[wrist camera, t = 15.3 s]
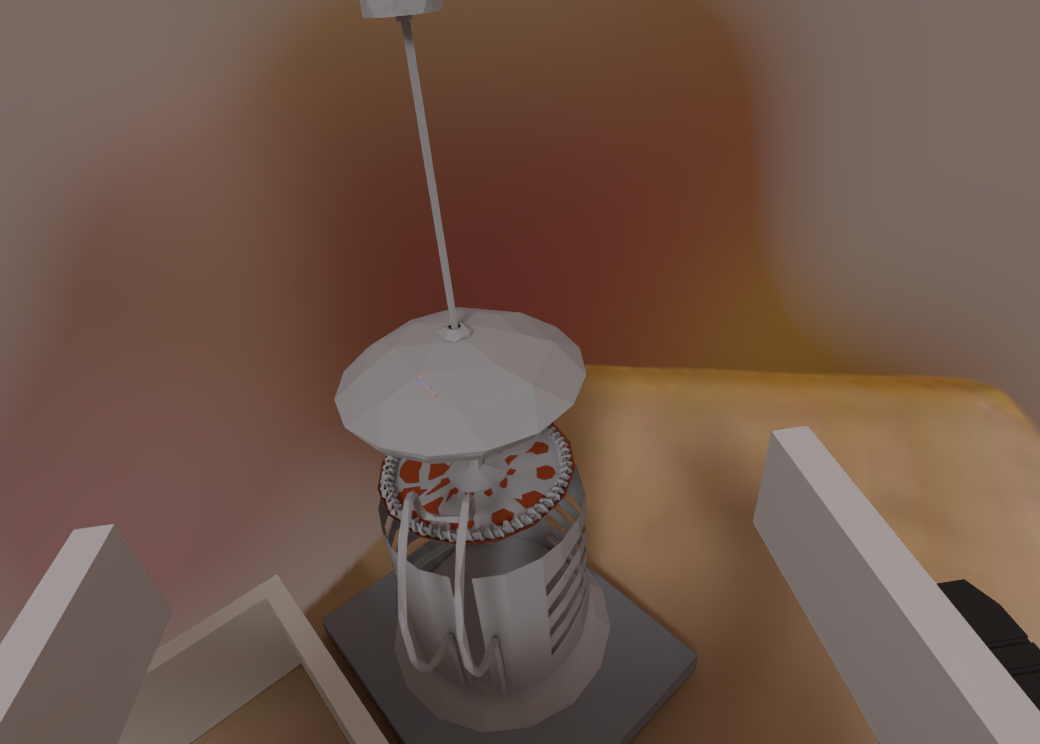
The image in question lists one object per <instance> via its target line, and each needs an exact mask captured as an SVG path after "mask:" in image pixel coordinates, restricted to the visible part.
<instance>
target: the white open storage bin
mask: <svg viewBox="0 0 1040 744" xmlns="http://www.w3.org/2000/svg"><path fill="white" fill-rule="evenodd" d="M300 664H302V666H303V668H304V669H305V671H306V673H307V674H308V676H309V678H310V679H311V681H312V682H313V684H314V686H315V687H316V689H317V691H318V692H319V694H320V696H321V697H322V699H323V701H324V702H325V704H326V706H327V707H328V709H329V711H330V712H331V714H332V716H333V717H334V719H335V721H336V722H337V724H338V725H339V727H340V729H341V730H342V732H343V734H344V735H345V737H346V739H347V740H348V742H349V744H389V743H388V741H387V740H386V738H385V737H384V735H383V734H382V732H381V731H380V729H379V728H378V726H377V725H376V723H375V722H374V720H373V719H372V717H371V716H370V714H369V712H368V711H367V709H366V708H365V706H364V705H363V703H362V702H361V700H360V699H359V697H358V696H357V694H356V693H355V691H354V690H353V688H352V687H351V685H350V684H349V682H348V681H347V679H346V678H345V676H344V675H343V673H342V672H341V670H340V669H339V667H338V665H337V664H336V662H335V661H334V659H333V658H332V656H331V655H330V653H329V652H328V650H327V649H326V647H325V646H324V644H323V643H322V641H321V640H320V638H319V637H318V635H317V634H316V632H315V631H314V629H313V628H312V626H311V625H310V623H309V621H308V620H307V618H306V617H305V615H304V614H303V612H302V611H301V609H300V608H299V606H298V605H297V604H296V602H295V600H294V599H293V597H292V596H291V594H290V593H289V591H288V590H287V588H286V587H285V585H284V584H283V582H282V581H281V579H280V577H279V576H278V574H276V575H275V576H273V577H271V578H270V579H268V580H266V581H265V582H263V583H262V584H260V585H259V586H257V587H255V588H254V589H252V590H250V591H249V592H247V593H246V594H244V595H242V596H241V597H239V598H238V599H236V600H234V601H233V602H231V603H230V604H228V605H226V606H225V607H223V608H222V609H220V610H218V611H217V612H215V613H214V614H212V615H210V616H209V617H207V618H206V619H204V620H202V621H201V622H199V623H198V624H196V625H194V626H193V627H191V628H190V629H188V630H186V631H185V632H183V633H182V634H180V635H178V636H177V637H175V638H174V639H172V640H170V641H169V642H167V643H166V644H164V645H162V646H161V647H159V648H158V649H156V651H155V653H154V656H153V658H152V661H151V663H150V666H149V668H148V671H147V673H146V676H145V678H144V680H143V683H142V685H141V688H140V690H139V693H138V695H137V698H136V700H135V703H134V705H133V707H132V710H131V712H130V715H129V717H128V720H127V722H126V725H125V727H124V729H123V732H122V734H121V737H120V739H119V742H118V744H190V743H191V742H193V741H194V740H195V739H197V738H198V737H200V736H201V735H202V734H204V733H205V732H207V731H208V730H209V729H211V728H212V727H214V726H215V725H216V724H218V723H219V722H220V721H222V720H223V719H225V718H226V717H227V716H229V715H230V714H232V713H233V712H234V711H236V710H237V709H239V708H240V707H241V706H243V705H244V704H245V703H247V702H248V701H250V700H251V699H252V698H254V697H255V696H257V695H258V694H259V693H261V692H262V691H264V690H265V689H266V688H268V687H269V686H270V685H272V684H273V683H275V682H276V681H277V680H279V679H280V678H282V677H283V676H284V675H286V674H287V673H289V672H290V671H291V670H293V669H294V668H295V667H297V666H298V665H300Z"/></svg>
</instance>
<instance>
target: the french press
mask: <svg viewBox="0 0 1040 744" xmlns="http://www.w3.org/2000/svg"><path fill="white" fill-rule="evenodd" d="M360 3H361V10H362V16H363V18H380V17H393V16H396V20H397V22H401V24H402V30H403V36H404V42H405V49H406V54H407V61H408V67H409V73H410V79H411V85H412V91H413V97H414V103H415V109H416V115H417V121H418V128H419V133H420V140H421V146H422V152H423V158H424V163H425V170H426V176H427V182H428V188H429V194H430V200H431V206H432V213H433V218H434V225H435V231H436V237H437V243H438V249H439V255H440V261H441V267H442V273H443V279H444V285H445V291H446V298H447V303H448V310H447V311H443V312H439V313H435V314H432V315H428V316H424V317H420V318H417V319H413V320H410V321H409V322H407V323H406V324H404V325H402V326H401V327H399V328H398V329H396V330H395V331H393V332H391V333H390V334H388V335H386V336H385V337H383V338H382V339H380V340H379V341H377V342H375V343H374V344H372V345H371V346H369V347H368V348H367V349H366V350H365V351H364V352H363V353H362V354H361V355H360V356H359V357H358V358H357V359H356V360H355V361H354V362H353V363H352V364H351V365H350V366H349V367H348V368H347V369H346V370H345V371H344V373H343V376H342V379H341V382H340V385H339V388H338V391H337V393H336V397H335V399H334V400H335V403H336V405H337V408H338V410H339V413H340V416H341V419H342V422H343V424H344V427H345V428H346V429H348V430H349V431H351V432H352V433H354V434H355V435H356V436H358V437H360V438H361V439H362V440H364V441H365V442H367V443H368V444H369V445H371V446H372V447H374V448H375V449H377V450H378V451H380V452H381V453H383V454H384V455H387V456H386V458H385V459H384V460H383V462H382V467H381V473H380V478H379V484H378V491H379V493H380V496H381V499H380V504H379V514H380V520H381V525H382V530H383V535H384V538H385V542H386V545H387V549H388V552H389V555H390V557H391V560H392V565H393V568H394V571H395V574H396V576H397V579H398V620H397V629H396V638H395V646H394V651H395V654H396V657H397V660H398V663H399V665H400V668H401V671H402V674H403V677H404V680H405V683H406V686H407V688H408V689H409V690H410V691H411V692H412V693H413V694H414V695H415V696H416V697H417V698H418V699H419V700H420V701H421V702H422V703H423V704H424V705H425V706H426V707H427V708H428V709H429V710H430V711H431V712H432V713H433V714H434V715H435V716H436V717H437V718H439V719H442V720H446V721H449V722H452V723H455V724H458V725H461V726H464V727H467V728H470V729H473V730H476V731H479V732H482V733H483V732H492V731H501V730H510V729H520V728H529V727H532V726H534V725H536V724H538V723H539V722H541V721H543V720H545V719H546V718H548V717H550V716H552V715H554V714H555V713H557V712H559V711H561V710H562V709H564V708H566V707H568V706H569V705H571V704H573V703H574V702H575V701H576V699H577V698H578V697H579V695H580V694H581V693H582V691H583V690H584V689H585V687H586V686H587V685H588V683H589V682H590V681H591V679H592V678H593V677H594V675H595V674H596V673H597V671H598V670H599V669H600V668H601V665H602V660H603V656H604V652H605V647H606V643H607V639H608V634H609V630H610V623H609V618H608V613H607V608H606V604H605V599H604V594H603V589H602V588H601V587H600V585H599V584H598V582H597V581H596V580H595V578H594V577H593V576H592V574H591V573H590V571H589V570H588V569H587V567H586V562H587V552H586V548H585V543H586V540H587V534H586V528H585V525H584V521H585V518H586V502H585V493H584V489H583V486H582V482H581V479H580V475H579V472H578V468H577V466H576V465H575V464H574V459H573V455H572V450H571V445H570V441H569V440H568V439H567V438H566V437H565V436H564V435H563V434H562V433H561V431H560V430H559V429H558V428H557V427H556V426H555V425H554V424H553V421H555V420H556V419H557V418H558V417H559V416H561V415H562V414H563V413H564V412H565V411H567V410H568V409H569V408H570V407H571V406H573V405H574V403H575V401H576V398H577V396H578V394H579V391H580V389H581V386H582V384H583V382H584V379H585V377H586V375H587V374H586V370H585V367H584V363H583V359H582V356H581V352H580V348H579V347H578V346H577V345H575V344H574V343H573V342H572V341H571V340H570V339H569V338H568V337H567V336H566V335H565V334H563V333H562V332H561V331H560V330H559V329H558V328H557V327H555V326H553V325H550V324H548V323H545V322H542V321H540V320H538V319H535V318H532V317H530V316H527V315H525V314H522V313H518V312H507V311H494V310H484V309H472V308H461V307H458V308H455V304H454V297H453V292H452V285H451V278H450V272H449V266H448V260H447V253H446V247H445V240H444V234H443V228H442V221H441V215H440V209H439V202H438V196H437V190H436V183H435V177H434V171H433V164H432V158H431V151H430V145H429V139H428V132H427V126H426V120H425V113H424V107H423V101H422V94H421V88H420V82H419V75H418V69H417V63H416V56H415V50H414V44H413V37H412V31H411V25H410V20H411V19H412V15H413V14H420V13H427V12H434V11H438V10H442V0H360ZM566 492H568V493H569V494H570V495H571V496H572V497H573V498H574V499H575V500H576V501H577V503H578V504H579V506H580V508H581V510H580V514H579V513H578V512H577V511H576V509H575V508H574V507H572V506H571V505H570V504H569V503H568V502H567V501H566V500H565V499H564V497H565V495H566ZM557 504H559V505H560V506H561V507H563V508H564V509H565V510H566V512H567V513H568V514H569V515H570V516H571V517H572V518H573V519H574V520H575V521H576V522H575V523H574V525H573V526H572V525H571V524H570V523H569V522H568V521H567V520H566V519H565V518H564V517H563V516H562V515H561V514H559V513H558V512H557V511H555V510H554V509H553V508H554V507H555V506H556V505H557ZM388 515H389V516H391V517H392V518H394V519H392V522H391V526H390V529H389V533H388V536H386V531H385V527H384V526H385V523H386V519H387V516H388ZM546 515H549V516H550V517H551V518H553V519H554V520H555V521H557V522H558V523H559V524H561V525H562V526H563V527H564V528H565V529H566V530H567V531H568V533H567V534H566V536H565V535H564V534H563V533H561V532H560V531H559V530H557V529H556V528H554V527H553V526H552V525H550V524H549V523H548V522H546ZM399 528H400V530H399V536H398V543H397V547H396V551H394V550H392V548H391V547H392V543H393V540H394V536H395V532H396V530H397V529H399ZM409 530H410V532H408V531H409ZM581 531H582V532H583V534H584V536H583V539H582V537H581V536H580V534H581ZM547 532H548V533H550V534H551V535H552V536H554V537H555V538H556V539H558V540H559V541H560V543H559V544H558V545H556V544H555V543H553V542H552V541H550V540H548V538H547ZM419 537H422V538H427V539H430V540H429V541H427V542H425V543H424V544H422V545H421V546H420V547H419V548H417V549H416V550H415V551H414V552H413V553H411V554H410V555H409V556H408V557H406V556H407V546H408V545H409V544H410V543H411V542H413V541H414V540H416V539H417V538H419ZM576 542H578V544H579V546H580V548H579V550H578V549H577V548H576V547H575V546H574V545H575V544H576ZM442 543H449V544H453V546H451V547H449V548H448V549H446V550H445V551H443V552H442V553H440V554H439V555H437V556H435V557H434V558H432V559H431V560H429V561H428V562H427V563H426V564H424V565H423V566H422V567H421V568H420V569H417V568H416V567H415V566H413V564H414V563H415V562H416V561H417V560H418V559H420V558H421V557H423V556H424V555H426V554H427V553H428V552H430V551H431V550H433V549H434V548H436V547H438V546H439V545H441V544H442ZM570 552H572V553H573V555H572V554H571V553H570ZM582 553H584V555H585V556H584V559H583V558H582ZM395 568H396V570H395Z"/></svg>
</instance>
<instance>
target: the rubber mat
mask: <svg viewBox="0 0 1040 744" xmlns="http://www.w3.org/2000/svg"><path fill="white" fill-rule="evenodd" d="M547 538H548V540H550V541H552V542H553V543H555V544H556V545H558V544H559V542H558V541H556V540H555V539H554V538H553V537H551V536H550V535H549V534H548V533H547ZM451 546H453V544H449V543H442V544H441V545H439V546H438V547H436V548H434V549H433V550H431V551H430V552H428V553H427V554H426V555H424V556H423V557H421V558H420V559H418V560H417V561H416V562H415V563H414V564H413V566H415V567H416V568H417V569H420V568H421V567H422V566H423V565H424V564H426V563H427V562H428V561H429V560H431V559H432V558H434V557H435V556H437V555H439V554H440V553H442V552H443V551H445V550H446V549H448V548H449V547H451ZM570 553H571V552H570ZM571 554H572V553H571ZM572 555H573V554H572ZM586 567H587V569H588V570H589V571H590V573H591V574H592V576H593V577H594V578H595V580H596V581H597V582H598V584H599V585H600V587H601V588H602V589H603V594H604V599H605V604H606V608H607V613H608V618H609V623H610V630H609V634H608V639H607V643H606V647H605V652H604V656H603V660H602V665H601V668H600V669H599V670H598V671H597V673H596V674H595V675H594V677H593V678H592V679H591V681H590V682H589V683H588V685H587V686H586V687H585V689H584V690H583V691H582V693H581V694H580V695H579V697H578V698H577V699H576V701H575V702H574V703H573V704H571V705H569V706H568V707H566V708H564V709H562V710H561V711H559V712H557V713H555V714H554V715H552V716H550V717H548V718H546V719H545V720H543V721H541V722H539V723H538V724H536V725H534V726H532V727H529V728H520V729H510V730H501V731H492V732H483V733H482V732H479V731H476V730H473V729H470V728H467V727H464V726H461V725H458V724H455V723H452V722H449V721H446V720H442V719H439V718H437V717H436V716H435V715H434V714H433V713H432V712H431V711H430V710H429V709H428V708H427V707H426V706H425V705H424V704H423V703H422V702H421V701H420V700H419V699H418V698H417V697H416V696H415V695H414V694H413V693H412V692H411V691H410V690H409V689H408V688H407V686H406V683H405V680H404V677H403V674H402V671H401V668H400V665H399V663H398V660H397V657H396V654H395V651H394V646H395V638H396V629H397V620H398V579H397V576H396V574H395V571H394V570H393V571H391V572H390V573H388V574H387V575H386V576H384V577H383V578H381V579H380V580H378V581H377V582H375V583H374V584H373V585H371V586H370V587H368V588H367V589H365V590H364V591H362V592H361V593H360V594H358V595H357V596H355V597H354V598H352V599H351V600H350V601H348V602H347V603H345V604H344V605H342V606H341V607H339V608H338V609H337V610H335V611H334V612H332V613H331V614H329V615H328V616H326V617H325V618H324V619H322V622H323V624H324V627H325V629H326V631H327V633H328V634H329V636H330V637H331V639H332V640H333V642H334V643H335V645H336V646H337V648H338V649H339V651H340V652H341V654H342V655H343V657H344V658H345V659H346V661H347V662H348V664H349V665H350V667H351V668H352V670H353V671H354V673H355V674H356V676H357V677H358V679H359V680H360V682H361V683H362V685H363V686H364V688H365V689H366V690H367V692H368V693H369V695H370V696H371V698H372V699H373V701H374V702H375V704H376V705H377V707H378V708H379V710H380V711H381V713H382V714H383V716H384V717H385V718H386V720H387V721H388V723H389V724H390V726H391V727H392V729H393V730H394V732H395V733H396V735H397V736H398V738H399V739H400V741H401V742H402V744H629V743H630V742H631V741H632V739H633V738H634V737H635V736H636V735H637V734H638V733H639V731H640V730H641V729H642V728H643V727H644V726H645V725H646V724H647V722H648V721H649V720H650V719H651V718H652V717H653V716H654V714H655V713H656V712H657V711H658V710H659V709H660V708H661V707H662V705H663V704H664V703H665V702H666V701H667V700H668V699H669V698H670V696H671V695H672V694H673V693H674V692H675V691H676V690H677V688H678V687H679V686H680V685H681V684H682V683H683V682H684V681H685V679H686V678H687V677H688V676H689V675H690V674H691V673H692V671H693V670H694V669H695V668H696V663H697V657H698V655H697V654H696V653H695V652H693V651H692V650H691V649H690V648H688V647H687V646H686V645H685V644H684V643H682V642H681V641H680V640H679V639H677V638H676V637H675V636H674V635H672V634H671V633H670V632H669V631H667V630H666V629H665V628H664V627H663V626H661V625H660V624H659V623H658V622H656V621H655V620H654V619H653V618H651V617H650V616H649V615H648V614H647V613H645V612H644V611H643V610H642V609H640V608H639V607H638V606H637V605H635V604H634V603H633V602H632V601H630V600H629V599H628V598H627V597H626V596H624V595H623V594H622V593H621V592H619V591H618V590H617V589H616V588H614V587H613V586H612V585H611V584H609V583H608V582H607V581H606V580H605V579H603V578H602V577H601V576H600V575H598V574H597V573H596V572H595V571H593V570H592V569H591V568H590V567H589V566H587V565H586ZM395 570H396V569H395Z"/></svg>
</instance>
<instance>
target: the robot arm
mask: <svg viewBox="0 0 1040 744" xmlns="http://www.w3.org/2000/svg"><path fill="white" fill-rule="evenodd" d="M753 524H754V526H755V527H756V529H757V531H758V533H759V534H760V536H761V538H762V540H763V541H764V543H765V545H766V547H767V548H768V550H769V552H770V554H771V555H772V557H773V559H774V561H775V562H776V564H777V566H778V568H779V569H780V571H781V573H782V575H783V576H784V578H785V580H786V581H787V583H788V585H789V587H790V588H791V590H792V592H793V594H794V595H795V597H796V599H797V601H798V602H799V604H800V606H801V608H802V609H803V611H804V613H805V615H806V616H807V618H808V620H809V622H810V623H811V625H812V627H813V629H814V630H815V632H816V634H817V636H818V637H819V639H820V641H821V643H822V644H823V646H824V648H825V650H826V651H827V653H828V655H829V657H830V658H831V660H832V662H833V664H834V665H835V667H836V669H837V670H838V672H839V674H840V676H841V677H842V679H843V681H844V683H845V684H846V686H847V688H848V690H849V691H850V693H851V695H852V697H853V698H854V700H855V702H856V704H857V705H858V707H859V709H860V711H861V712H862V714H863V716H864V718H865V719H866V721H867V723H868V725H869V726H870V728H871V730H872V732H873V733H874V735H875V737H876V739H877V740H878V742H879V744H1040V649H1039V648H1038V647H1037V646H1036V645H1035V644H1034V642H1033V643H1031V642H1030V641H1029V640H1028V636H1027V635H1026V633H1025V632H1024V631H1023V630H1022V629H1021V628H1020V627H1019V625H1018V624H1017V623H1016V622H1015V621H1014V620H1013V619H1012V618H1011V616H1010V615H1009V614H1008V613H1007V612H1006V611H1005V610H1004V609H1003V607H1002V606H1001V605H1000V604H998V603H997V602H996V601H994V600H993V599H991V598H990V597H989V596H987V595H986V594H984V593H983V592H981V591H980V590H979V589H977V588H976V587H974V586H973V585H971V584H970V583H969V582H967V581H966V580H964V579H963V580H957V581H950V582H944V583H938V584H936V583H935V582H934V581H933V579H932V578H931V577H930V576H929V575H928V573H927V572H926V571H925V570H924V568H923V567H922V566H921V565H920V563H919V562H918V561H917V560H916V559H915V557H914V556H913V555H912V554H911V552H910V551H909V550H908V549H907V548H906V546H905V545H904V544H903V543H902V541H901V540H900V539H899V538H898V536H897V535H896V534H895V533H894V532H893V530H892V529H891V528H890V527H889V525H888V524H887V523H886V522H885V520H884V519H883V518H882V517H881V516H880V514H879V513H878V512H877V511H876V509H875V508H874V507H873V506H872V504H871V503H870V502H869V501H868V500H867V498H866V497H865V496H864V495H863V493H862V492H861V491H860V490H859V488H858V487H857V486H856V485H855V484H854V482H853V481H852V480H851V479H850V477H849V476H848V475H847V474H846V473H845V471H844V470H843V469H842V468H841V466H840V465H839V464H838V463H837V461H836V460H835V459H834V458H833V457H832V455H831V454H830V453H829V452H828V450H827V449H826V448H825V447H824V445H823V444H822V443H821V442H820V441H819V439H818V438H817V437H816V436H815V434H814V433H813V432H812V431H811V429H810V428H809V427H808V426H803V427H796V428H789V429H782V430H775V431H771V436H770V441H769V445H768V450H767V455H766V460H765V465H764V470H763V474H762V479H761V484H760V489H759V494H758V498H757V503H756V508H755V513H754V518H753ZM171 612H172V607H171V606H170V604H169V603H168V601H167V600H166V598H165V597H164V596H163V594H162V593H161V591H160V590H159V588H158V587H157V585H156V584H155V582H154V581H153V579H152V578H151V577H150V575H149V574H148V572H147V571H146V569H145V568H144V566H143V565H142V563H141V562H140V561H139V559H138V558H137V556H136V555H135V553H134V552H133V550H132V549H131V547H130V546H129V544H128V543H127V541H126V540H125V539H124V537H123V536H122V534H121V533H120V531H119V530H118V528H117V527H116V525H115V524H111V525H104V526H96V527H90V528H83V529H75V530H73V532H72V533H71V535H70V537H69V538H68V540H67V541H66V543H65V544H64V546H63V547H62V549H61V550H60V552H59V554H58V555H57V557H56V558H55V560H54V561H53V563H52V564H51V566H50V568H49V569H48V571H47V572H46V574H45V575H44V577H43V579H42V580H41V582H40V583H39V585H38V586H37V588H36V589H35V591H34V592H33V594H32V596H31V597H30V599H29V601H28V602H27V604H26V605H25V607H24V608H23V610H22V611H21V613H20V615H19V616H18V617H17V619H16V621H15V622H14V624H13V625H12V627H11V628H10V630H9V631H8V633H7V635H6V637H5V638H4V639H3V641H2V642H1V644H0V744H118V742H119V739H120V737H121V734H122V732H123V729H124V727H125V725H126V722H127V720H128V717H129V715H130V712H131V710H132V707H133V705H134V703H135V700H136V698H137V695H138V693H139V690H140V688H141V685H142V683H143V680H144V678H145V676H146V673H147V671H148V668H149V666H150V663H151V661H152V658H153V656H154V653H155V651H156V649H157V646H158V644H159V641H160V639H161V636H162V634H163V631H164V629H165V626H166V624H167V622H168V619H169V617H170V614H171Z"/></svg>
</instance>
